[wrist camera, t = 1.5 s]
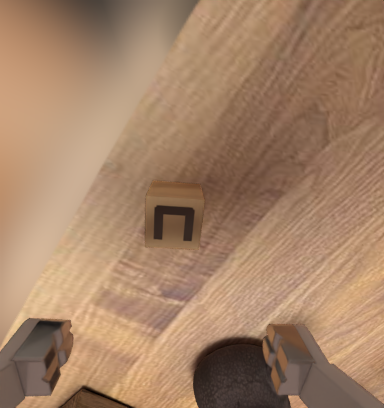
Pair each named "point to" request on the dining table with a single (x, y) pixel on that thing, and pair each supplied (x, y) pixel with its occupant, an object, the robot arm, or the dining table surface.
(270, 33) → the dining table surface
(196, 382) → the teapot
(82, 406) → the book
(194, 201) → the tile
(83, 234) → the dining table surface
